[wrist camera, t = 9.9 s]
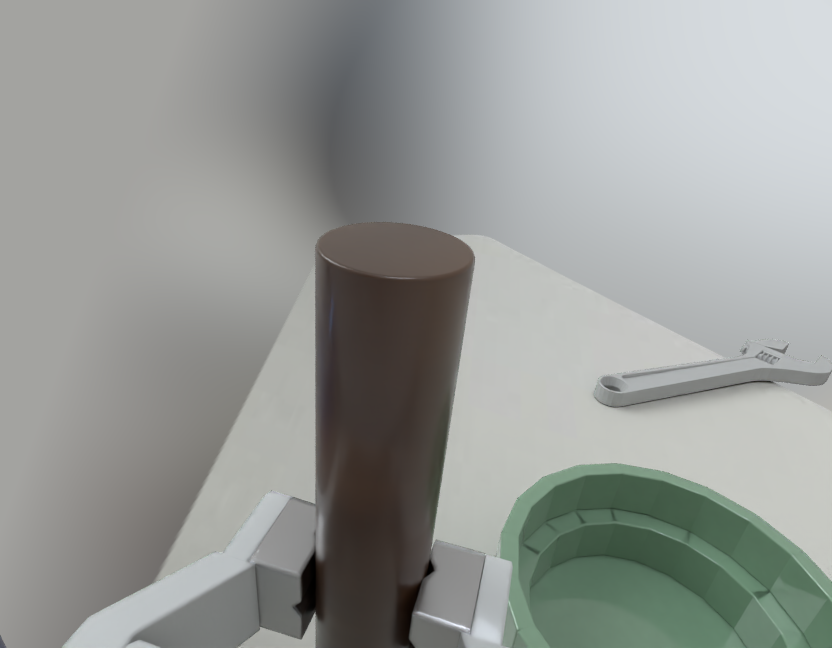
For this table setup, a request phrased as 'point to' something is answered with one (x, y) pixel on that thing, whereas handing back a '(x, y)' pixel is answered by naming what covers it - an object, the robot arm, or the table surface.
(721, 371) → the adjustable wrench
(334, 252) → the muddler
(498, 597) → the robot arm
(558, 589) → the bowl
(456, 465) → the table surface
